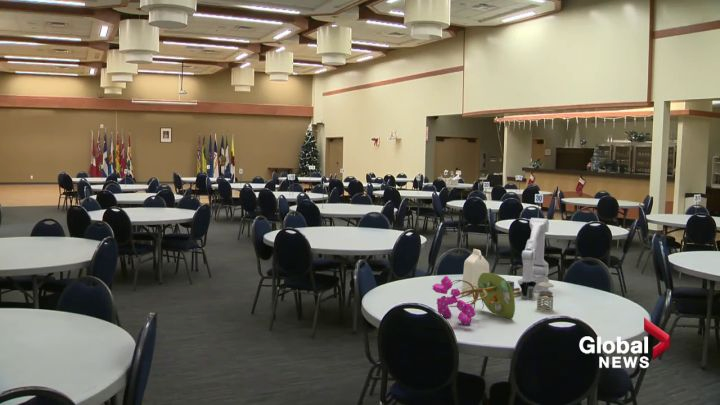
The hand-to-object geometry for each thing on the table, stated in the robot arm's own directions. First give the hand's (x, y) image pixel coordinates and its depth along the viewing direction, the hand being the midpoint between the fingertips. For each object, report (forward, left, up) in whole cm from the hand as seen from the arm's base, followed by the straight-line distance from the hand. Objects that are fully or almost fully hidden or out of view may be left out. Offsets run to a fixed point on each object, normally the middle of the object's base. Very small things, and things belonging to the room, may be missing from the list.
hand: (527, 295), depth 362 cm
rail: (-2, -11, -2) cm, 11 cm away
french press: (+16, +23, -2) cm, 28 cm away
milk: (+17, -23, -2) cm, 29 cm away
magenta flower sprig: (+60, +14, -2) cm, 62 cm away
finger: (0, 0, -2) cm, 2 cm away
